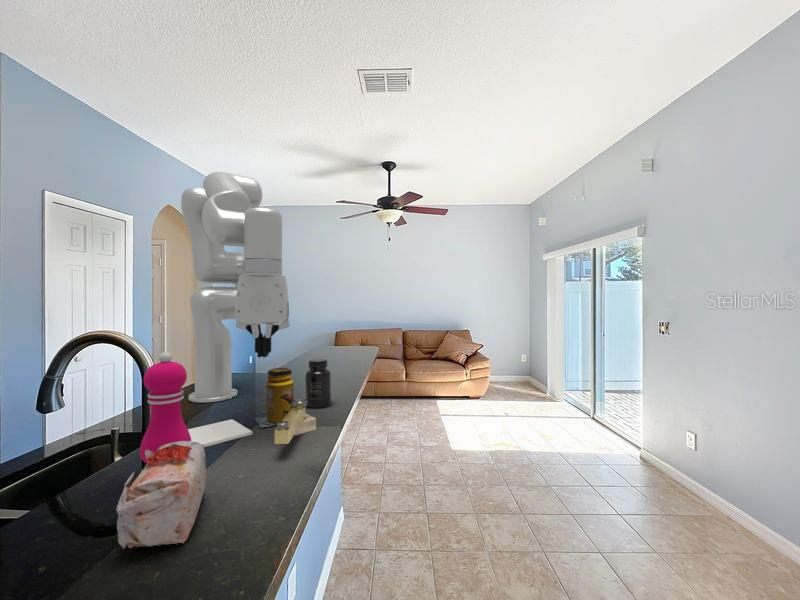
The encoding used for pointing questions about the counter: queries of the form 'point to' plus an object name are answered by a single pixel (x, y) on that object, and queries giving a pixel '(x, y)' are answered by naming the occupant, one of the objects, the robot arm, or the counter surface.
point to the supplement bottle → (318, 384)
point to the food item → (163, 496)
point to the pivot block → (306, 425)
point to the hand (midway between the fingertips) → (263, 356)
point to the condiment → (278, 394)
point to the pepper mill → (164, 405)
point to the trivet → (218, 432)
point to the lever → (290, 422)
